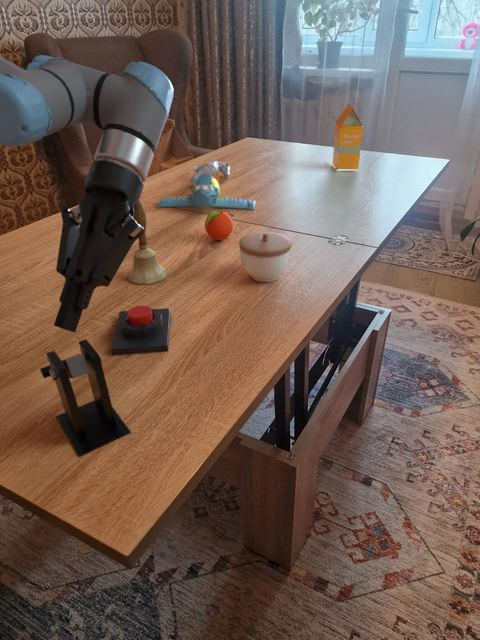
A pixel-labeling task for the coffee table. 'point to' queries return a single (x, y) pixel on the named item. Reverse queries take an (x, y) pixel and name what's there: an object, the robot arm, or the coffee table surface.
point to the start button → (140, 315)
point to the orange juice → (347, 140)
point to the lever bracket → (87, 405)
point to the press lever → (71, 367)
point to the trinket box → (265, 255)
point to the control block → (142, 334)
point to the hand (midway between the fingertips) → (64, 328)
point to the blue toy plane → (206, 196)
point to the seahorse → (211, 170)
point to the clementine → (219, 225)
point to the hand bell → (145, 256)
